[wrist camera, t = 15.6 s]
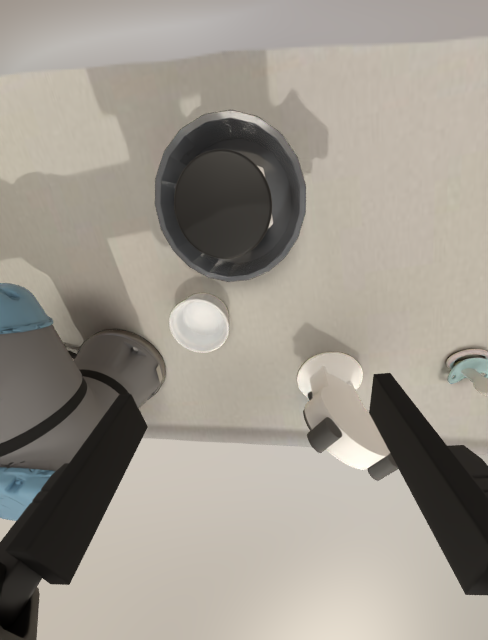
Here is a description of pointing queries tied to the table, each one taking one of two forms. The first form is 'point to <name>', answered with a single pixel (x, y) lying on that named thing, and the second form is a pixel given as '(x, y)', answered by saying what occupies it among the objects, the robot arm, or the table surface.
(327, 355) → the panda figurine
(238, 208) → the jar
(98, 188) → the table surface
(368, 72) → the table surface
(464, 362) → the pacifier
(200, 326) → the ramekin
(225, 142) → the grey round bowl
